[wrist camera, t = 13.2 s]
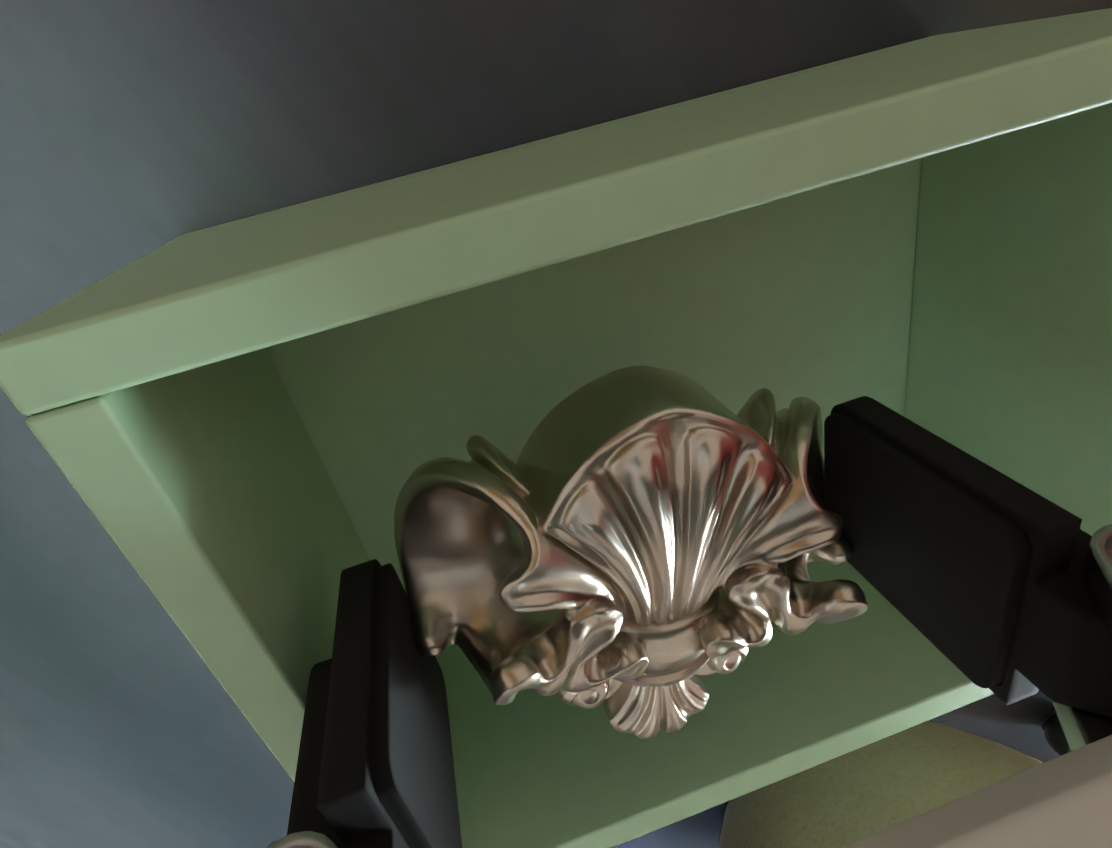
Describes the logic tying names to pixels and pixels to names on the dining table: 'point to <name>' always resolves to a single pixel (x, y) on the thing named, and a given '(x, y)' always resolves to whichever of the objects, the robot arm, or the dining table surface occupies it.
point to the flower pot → (869, 789)
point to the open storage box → (592, 351)
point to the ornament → (625, 546)
